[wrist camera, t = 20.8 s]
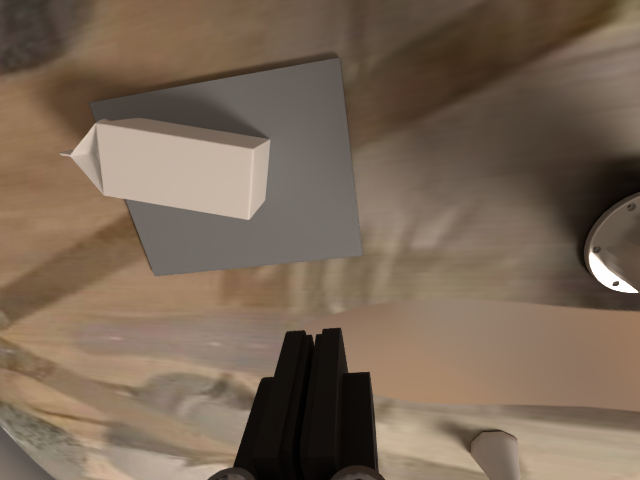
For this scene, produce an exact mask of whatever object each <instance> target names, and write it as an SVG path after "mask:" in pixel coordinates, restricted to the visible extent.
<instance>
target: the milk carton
mask: <svg viewBox="0 0 640 480" xmlns="http://www.w3.org/2000/svg"><path fill="white" fill-rule="evenodd" d="M269 151H270V139H266V138H260V137H254V136H248V135H242V134H236V133H230V132H224V131H217V130H211V129H205V128H199V127H193V126H187V125H181V124H175V123H169V122H163V121H157V120H151V119H145V118H132V119H123V120H114V121H109V120H107V119H102V120H99V121H98V122H96V123H95V124H94V125H93V126H92V127H91V129H90V131H89V132H88V133H87V135H86V136H85V137H84V138H83V140H82V141H81V142H80V143H79V145H78V146H77V147H76V148H75V150H70V151H65V152H60V155H64V156H70V157H71V158H72V159H73V160H74V161H75V162H76V163H77V165H78V166H79V167H80V168H81V169H82V170H83V172H84V173H85V174H86V175H87V176H88V177H89V179H90V180H91V181H92V182H93V183H94V184H95V185H96V187H97V188H98V189H99V190H100V191H101V192H102V194H103V195H105V196H111V197H117V198H123V199H129V200H135V201H141V202H146V203H152V204H158V205H164V206H170V207H176V208H182V209H188V210H193V211H199V212H205V213H211V214H217V215H223V216H229V217H234V218H240V219H246V220H249V219H250V218H251V217H252V216H253V215H254V214H255V212H256V211H257V210H258V209H259V207H260V206H261V205H262V204H263V202H264V201H265V196H266V186H267V175H268V163H269Z"/></svg>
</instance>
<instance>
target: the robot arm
mask: <svg viewBox="0 0 640 480" xmlns="http://www.w3.org/2000/svg"><path fill="white" fill-rule="evenodd" d="M584 260H585V264H586V267H587V269H588V270H589V272H590V274H591V275H592V276H593V277H594V278H595V279H596V280H598V281H599V282H600V283H602V284H603V285H605V286H606V287H608V288H610V289H613V290H617V291H621V292H632V293H634V292H639V293H640V192H638V193H635V194H633V195H631V196H628V197H626V198H624V199H623V200H621V201H619V202H618V203H616V204H614V205H613V206H612V207H611V208H609V209H608V210H607V211H606V212H604V213H603V215H602V216H601V217H600V218H599V219H598V220H597V221H596V222H595V224H594V226H593V227H592V229H591V230H590V232H589V234H588V237H587V239H586V242H585V247H584ZM208 480H385V479H384V478H383V476H382V475H381V474H379V470H378V456H377V442H376V428H375V415H374V404H373V394H372V386H371V378H370V372H359V373H348V368H347V362H346V355H345V349H344V342H343V336H342V330H341V328H330V329H323V331H322V334H317V335H316V339H315V346H314V342H313V337H312V335H306V332H305V331H304V330H302V331H287V332H286V334H285V338H284V342H283V345H282V349H281V353H280V356H279V360H278V364H277V367H276V371H275V374H274V377H264V378H262V379H261V381H260V384H259V387H258V390H257V393H256V396H255V399H254V403H253V406H252V409H251V412H250V415H249V418H248V421H247V425H246V428H245V431H244V434H243V437H242V440H241V444H240V447H239V450H238V453H237V456H236V459H235V462H234V466H233V467H232V468H227V469H224V470H221V471H219V472H217V473H216V474H214V475H212V476H211V477H210V478H209V479H208Z"/></svg>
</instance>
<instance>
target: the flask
mask: <svg viewBox="0 0 640 480" xmlns="http://www.w3.org/2000/svg"><path fill="white" fill-rule="evenodd" d="M471 456H472V457H473V458H474V460H475V461H476V462H477V463H478V465H479V466H480V467H481V468H482V470H483V471H484V472H485V473H486V475H487V476H488V477H489V479H490V480H521V477H520V468H519V456H518V443H517V438H515V437H513V436H511V435H508V434H506V433H504V432H502V431H501V432H482V433H481V434H480V435H479V436H478V437H477V438H476V439H474V440H473V441H472V442H471Z"/></svg>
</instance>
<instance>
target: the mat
mask: <svg viewBox="0 0 640 480" xmlns="http://www.w3.org/2000/svg"><path fill="white" fill-rule="evenodd" d="M89 106H90V108H91V111H92V114H93V116H94V119H95V121H96V122H98V121H99V120H102V119H107V120H109V121H114V120H123V119H132V118H145V119H151V120H157V121H163V122H169V123H175V124H181V125H187V126H193V127H199V128H205V129H211V130H217V131H224V132H230V133H236V134H242V135H248V136H254V137H260V138H266V139H270V151H269V163H268V175H267V186H266V196H265V201H264V202H263V204H262V205H261V206H260V207H259V209H258V210H257V211H256V212H255V214H254V215H253V216H252V217H251V218H250V219H249V220H246V219H240V218H234V217H229V216H223V215H217V214H211V213H205V212H199V211H193V210H188V209H182V208H176V207H170V206H164V205H158V204H152V203H146V202H141V201H135V200H129V199H125V200H126V202H127V205H128V208H129V210H130V213H131V215H132V218H133V221H134V223H135V226H136V229H137V231H138V234H139V236H140V239H141V242H142V244H143V247H144V249H145V252H146V255H147V257H148V260H149V263H150V265H151V268H152V270H153V273H154V276H163V275H173V274H183V273H193V272H203V271H214V270H224V269H234V268H244V267H254V266H264V265H274V264H284V263H294V262H304V261H314V260H324V259H334V258H344V257H354V256H363V254H362V245H361V236H360V228H359V219H358V210H357V202H356V193H355V185H354V176H353V167H352V159H351V150H350V141H349V133H348V124H347V115H346V107H345V98H344V89H343V81H342V72H341V63H340V58H334V59H328V60H323V61H317V62H312V63H306V64H301V65H295V66H290V67H284V68H279V69H273V70H267V71H262V72H256V73H251V74H245V75H240V76H234V77H229V78H223V79H218V80H212V81H206V82H201V83H195V84H190V85H184V86H179V87H173V88H168V89H162V90H157V91H151V92H145V93H140V94H134V95H129V96H123V97H118V98H112V99H107V100H101V101H95V102H90V103H89Z"/></svg>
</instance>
